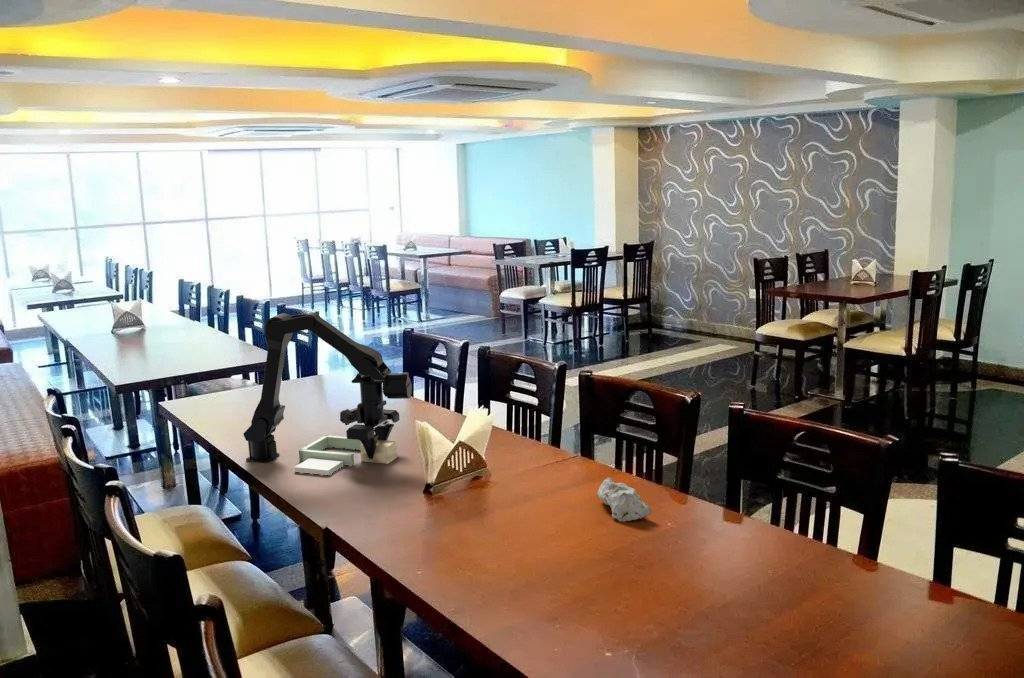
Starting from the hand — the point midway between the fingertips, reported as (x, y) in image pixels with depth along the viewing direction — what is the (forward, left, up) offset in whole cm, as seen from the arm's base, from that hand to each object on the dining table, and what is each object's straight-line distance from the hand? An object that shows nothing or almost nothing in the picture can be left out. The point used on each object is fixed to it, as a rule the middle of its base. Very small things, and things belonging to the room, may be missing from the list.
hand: (375, 455), depth 217 cm
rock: (+69, -18, -1) cm, 72 cm away
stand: (-11, -11, -1) cm, 15 cm away
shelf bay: (-11, 0, -1) cm, 11 cm away
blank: (+1, 0, -1) cm, 1 cm away
